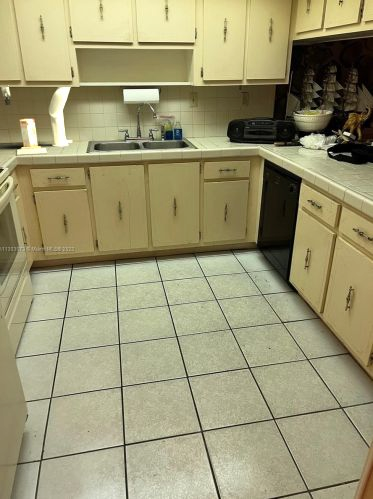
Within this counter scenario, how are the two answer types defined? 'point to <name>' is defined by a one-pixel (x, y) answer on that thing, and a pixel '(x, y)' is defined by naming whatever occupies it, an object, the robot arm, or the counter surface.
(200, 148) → the counter surface
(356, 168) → the counter surface
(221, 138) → the counter surface
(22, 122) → the cracker box
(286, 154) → the counter surface
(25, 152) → the mat
